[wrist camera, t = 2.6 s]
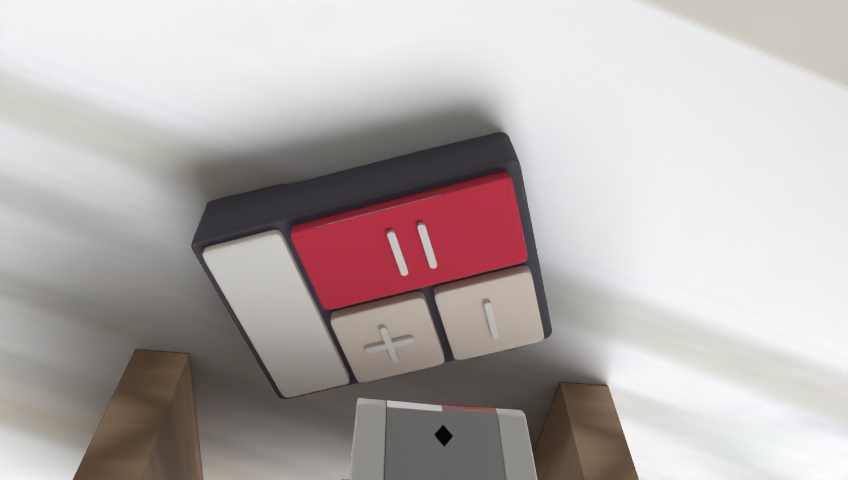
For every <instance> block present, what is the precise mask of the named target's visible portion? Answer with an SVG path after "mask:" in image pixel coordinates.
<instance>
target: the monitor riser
mask: <svg viewBox="0 0 848 480" xmlns="http://www.w3.org/2000/svg"><path fill="white" fill-rule="evenodd" d="M533 458H534V464H535V469H536V474H537V480H639V479H638V476H637V473H636V470H635V467H634V463H633V460H632V457H631V454H630V451H629V448H628V445H627V442H626V439H625V436H624V433H623V430H622V427H621V424H620V421H619V418H618V415H617V412H616V409H615V405H614V402H613V399H612V396H611V393H610V390H609V387H608V386H603V385H590V384H577V383H564V382H560V385H559V387H558V390H557V393H556V395H555V398H554V401H553V403H552V406H551V409H550V412H549V414H548V417H547V420H546V422H545V425H544V428H543V430H542V433H541V436H540V439H539V441H538V444H537V447H536V449H535V452H534V455H533ZM73 480H203V473H202V464H201V455H200V446H199V438H198V429H197V420H196V411H195V403H194V394H193V385H192V376H191V368H190V359H189V354H186V353H173V352H160V351H147V350H135V351H134V353H133V355H132V357H131V359H130V361H129V363H128V366H127V368H126V370H125V372H124V374H123V376H122V378H121V380H120V382H119V384H118V386H117V388H116V391H115V393H114V395H113V397H112V399H111V401H110V403H109V405H108V407H107V409H106V411H105V413H104V416H103V418H102V420H101V422H100V424H99V426H98V428H97V430H96V432H95V434H94V436H93V438H92V441H91V443H90V445H89V447H88V449H87V451H86V453H85V455H84V457H83V459H82V461H81V464H80V466H79V468H78V470H77V472H76V474H75V476H74V478H73Z"/></svg>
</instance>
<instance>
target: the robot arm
mask: <svg viewBox="0 0 848 480" xmlns="http://www.w3.org/2000/svg"><path fill="white" fill-rule="evenodd" d="M342 480H537V474H536V469H535V464H534V458H533V453H532V448H531V443H530V437H529V432H528V427H527V421H526V416H525V414H524V412H523V411H522V410H512V409H498V408H495V409H494V408H491V407H474V406H457V405H430V404H420V403H410V402H400V401H389V400H387V401H386V400H376V399H365V398H358V400H357V406H356V415H355V424H354V434H353V443H352V452H351V462H350V473H349V479H342Z"/></svg>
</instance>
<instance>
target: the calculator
mask: <svg viewBox="0 0 848 480" xmlns="http://www.w3.org/2000/svg"><path fill="white" fill-rule="evenodd" d="M191 246H192V250H193V251H194V253H195V255H196V257H197V259H198V260H199V262H200V264H201V265H202V267H203V269H204V271H205V272H206V274H207V276H208V277H209V279H210V281H211V283H212V284H213V286H214V288H215V289H216V291H217V293H218V295H219V296H220V298H221V300H222V301H223V303H224V305H225V307H226V308H227V310H228V312H229V313H230V315H231V317H232V319H233V320H234V322H235V324H236V325H237V327H238V329H239V331H240V332H241V334H242V336H243V337H244V339H245V341H246V343H247V344H248V346H249V348H250V349H251V351H252V353H253V355H254V356H255V358H256V360H257V361H258V363H259V365H260V367H261V368H262V370H263V372H264V373H265V375H266V377H267V379H268V380H269V382H270V384H271V385H272V387H273V389H274V391H275V392H276V394H277V395H278V396H279V397H280V398H282V399H289V398H294V397H298V396H302V395H307V394H311V393H315V392H320V391H324V390H328V389H332V388H337V387H341V386H345V385H350V384H354V383H358V382H360V383H364V382H370V381H374V380H378V379H383V378H387V377H391V376H395V375H400V374H404V373H408V372H413V371H417V370H421V369H426V368H430V367H434V366H438V365H441V364H443V363H444V362H448V361H452V360H464V359H468V358H473V357H477V356H481V355H486V354H490V353H494V352H498V351H503V350H507V349H511V348H516V347H520V346H524V345H529V344H533V343H537V342H540V341H542V340H543V339H546V338H548V337H549V336H550V335H551V333H552V329H551V323H550V318H549V313H548V307H547V302H546V297H545V292H544V286H543V281H542V276H541V271H540V266H539V260H538V255H537V250H536V245H535V240H534V234H533V229H532V224H531V219H530V213H529V208H528V203H527V198H526V193H525V187H524V182H523V177H522V172H521V167H520V163H519V160H518V158H517V155H516V153H515V150H514V148H513V145H512V143H511V141H510V138H509V136H508V135H507V134H505V133H494V134H490V135H486V136H481V137H477V138H473V139H469V140H465V141H460V142H456V143H452V144H448V145H444V146H440V147H436V148H431V149H427V150H423V151H419V152H415V153H411V154H407V155H404V156H400V157H396V158H392V159H388V160H385V161H381V162H377V163H373V164H369V165H366V166H362V167H358V168H354V169H351V170H347V171H343V172H339V173H335V174H332V175H328V176H324V177H320V178H316V179H313V180H309V181H305V182H301V183H297V184H293V185H291V184H280V185H275V186H271V187H267V188H263V189H259V190H254V191H250V192H246V193H242V194H238V195H233V196H229V197H225V198H221V199H217V200H213V201H210V202H209V203H208V204H207V206H206V208H205V211H204V213H203V216H202V218H201V221H200V223H199V226H198V228H197V231H196V233H195V236H194V239H193V241H192V245H191Z"/></svg>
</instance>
